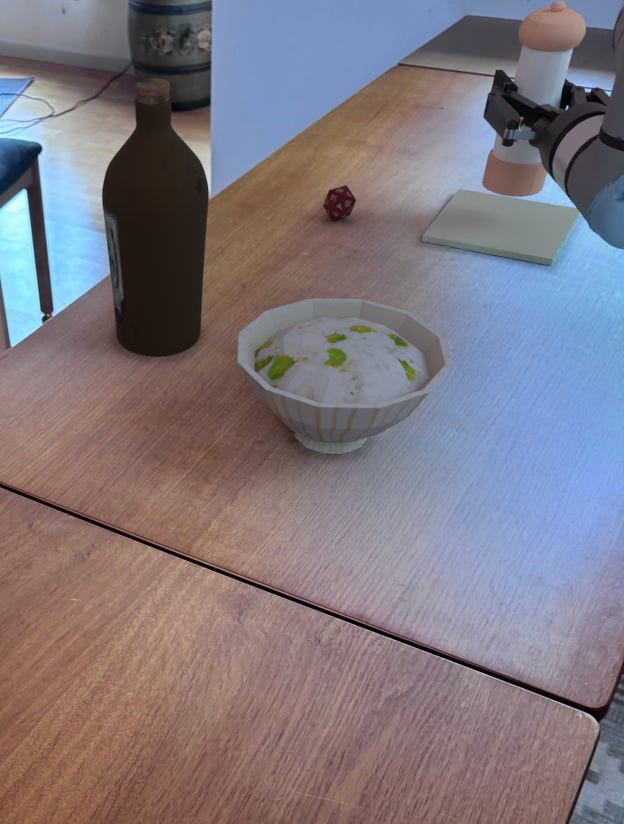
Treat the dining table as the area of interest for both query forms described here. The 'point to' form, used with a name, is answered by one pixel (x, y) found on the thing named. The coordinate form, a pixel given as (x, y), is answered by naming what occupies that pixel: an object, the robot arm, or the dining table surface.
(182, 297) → the olive oil
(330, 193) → the dice
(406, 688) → the dining table surface
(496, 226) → the tile
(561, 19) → the salt shaker
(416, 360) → the bowl
